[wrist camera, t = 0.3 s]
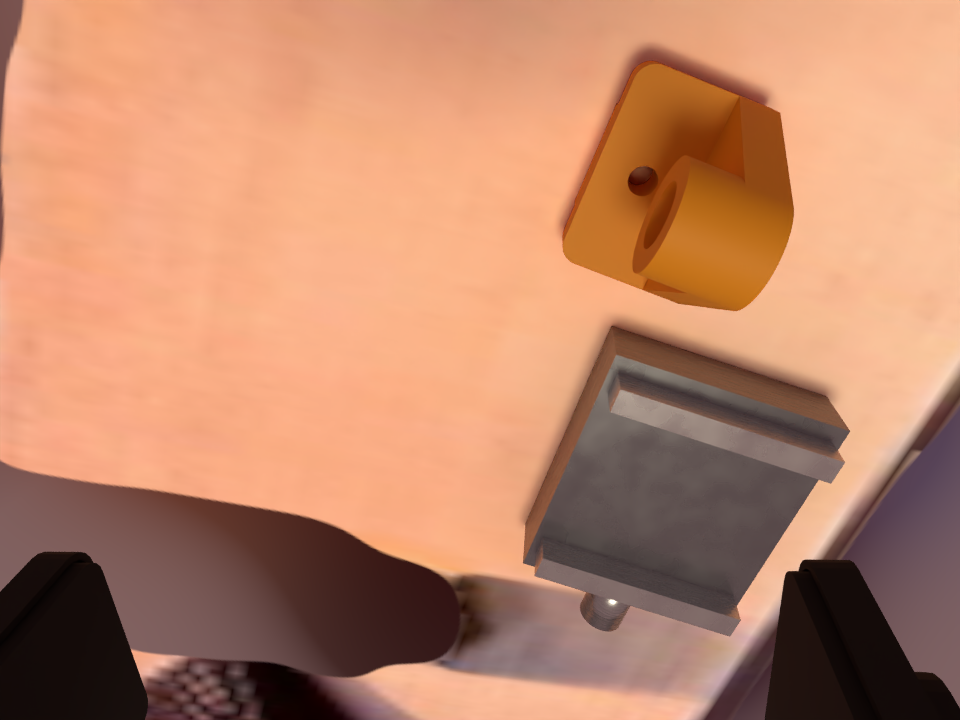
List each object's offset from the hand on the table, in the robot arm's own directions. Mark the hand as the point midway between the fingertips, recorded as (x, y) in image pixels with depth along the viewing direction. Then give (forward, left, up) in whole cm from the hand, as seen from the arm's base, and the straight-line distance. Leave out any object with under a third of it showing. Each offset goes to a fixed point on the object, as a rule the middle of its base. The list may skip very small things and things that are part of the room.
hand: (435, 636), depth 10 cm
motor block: (+18, +15, -34) cm, 41 cm away
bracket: (-1, +7, -34) cm, 35 cm away
